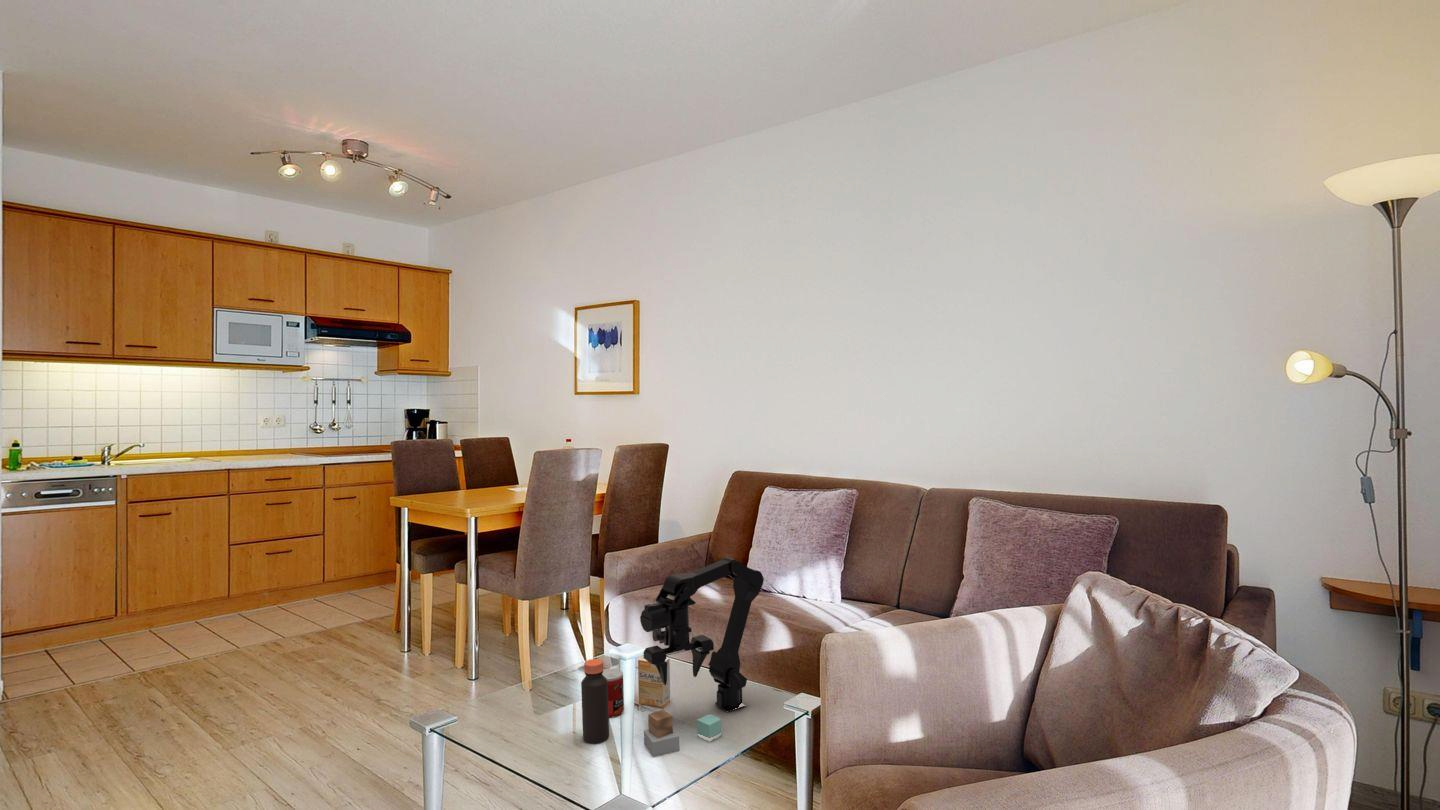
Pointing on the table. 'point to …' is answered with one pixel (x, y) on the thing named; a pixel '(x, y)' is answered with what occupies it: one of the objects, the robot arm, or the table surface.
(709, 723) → the teal cube
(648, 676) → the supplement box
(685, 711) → the table surface
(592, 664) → the bottle
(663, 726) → the walnut cube
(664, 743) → the slate block
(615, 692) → the canned food
